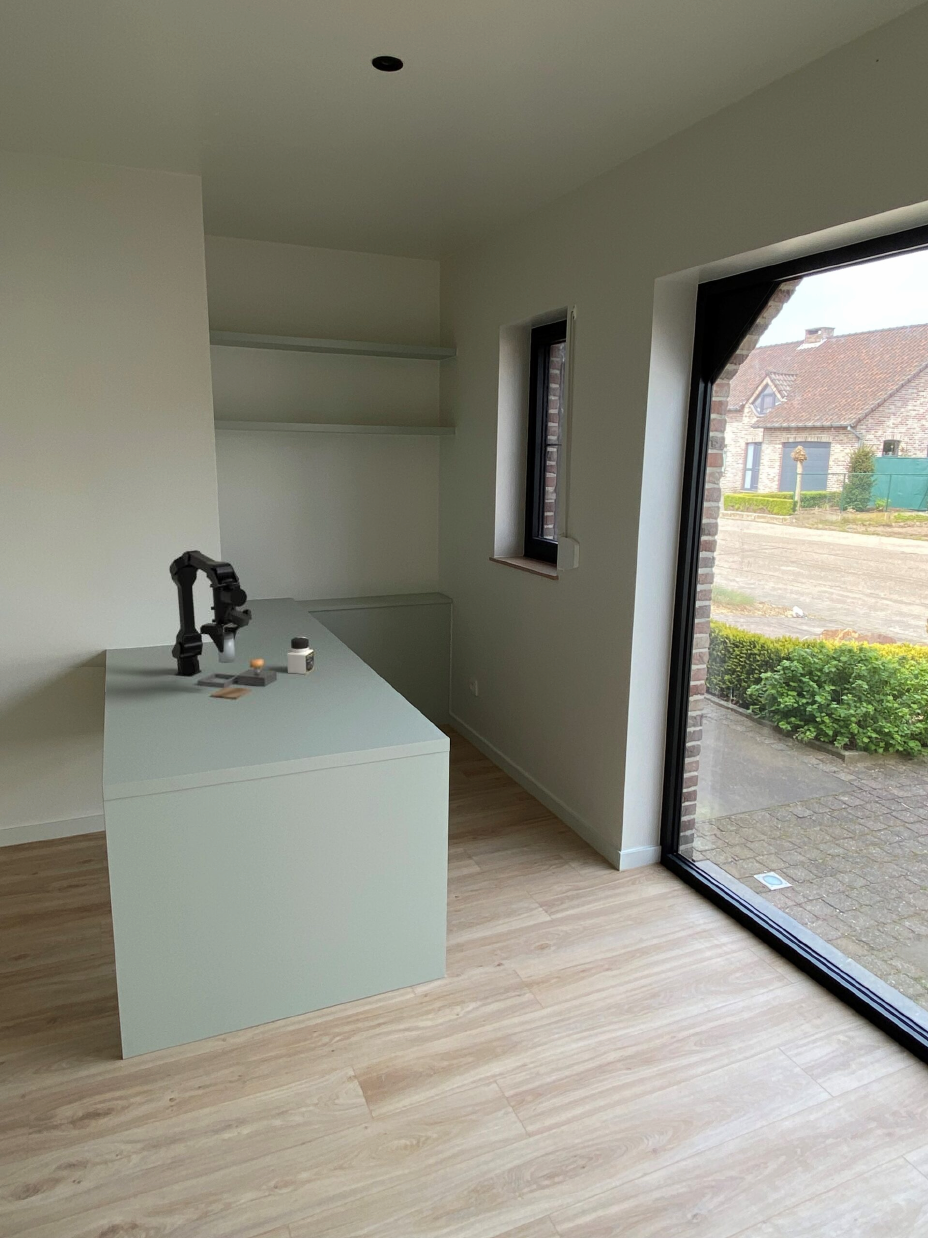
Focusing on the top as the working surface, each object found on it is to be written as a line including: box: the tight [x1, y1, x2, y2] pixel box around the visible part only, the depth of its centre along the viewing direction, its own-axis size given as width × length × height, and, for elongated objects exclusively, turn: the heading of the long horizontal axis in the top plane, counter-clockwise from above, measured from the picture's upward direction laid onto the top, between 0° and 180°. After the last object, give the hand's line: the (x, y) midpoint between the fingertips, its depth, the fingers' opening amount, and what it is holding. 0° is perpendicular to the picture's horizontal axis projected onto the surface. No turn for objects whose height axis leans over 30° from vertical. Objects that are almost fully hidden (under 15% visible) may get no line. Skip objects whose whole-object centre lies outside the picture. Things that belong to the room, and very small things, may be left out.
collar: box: [197, 672, 239, 689], centre depth 268 cm, size 10×10×2 cm
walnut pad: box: [210, 686, 252, 700], centre depth 256 cm, size 9×9×1 cm
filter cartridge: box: [217, 632, 236, 664], centre depth 256 cm, size 5×5×9 cm
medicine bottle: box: [286, 636, 315, 675], centre depth 280 cm, size 7×7×12 cm
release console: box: [237, 668, 278, 687], centre depth 268 cm, size 10×8×3 cm
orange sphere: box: [249, 658, 265, 674], centre depth 267 cm, size 4×4×4 cm
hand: (226, 650), depth 256 cm, fingers closed on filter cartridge, 5 cm apart
